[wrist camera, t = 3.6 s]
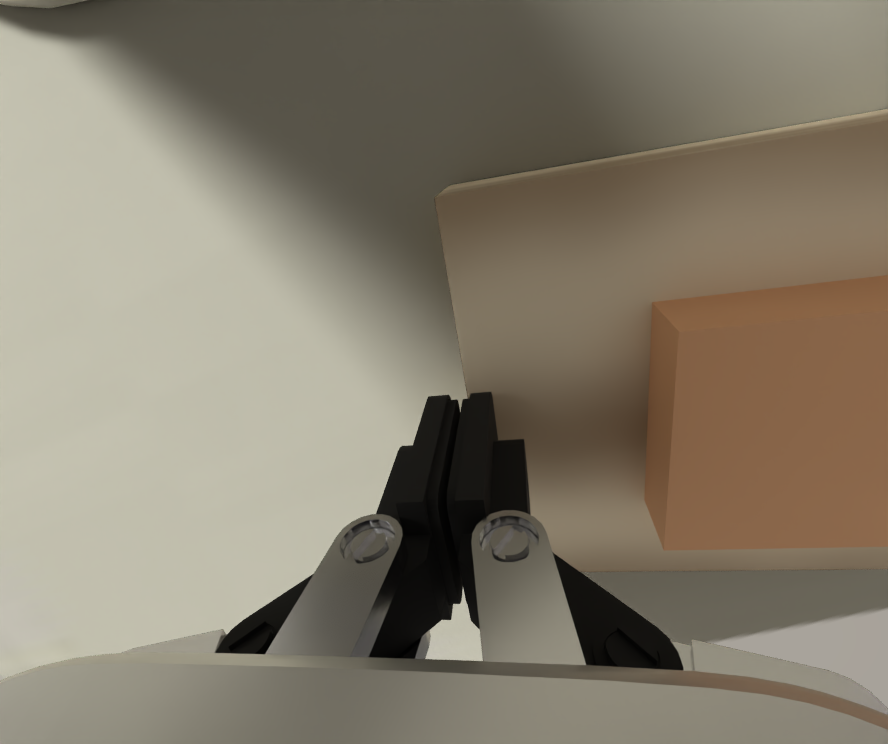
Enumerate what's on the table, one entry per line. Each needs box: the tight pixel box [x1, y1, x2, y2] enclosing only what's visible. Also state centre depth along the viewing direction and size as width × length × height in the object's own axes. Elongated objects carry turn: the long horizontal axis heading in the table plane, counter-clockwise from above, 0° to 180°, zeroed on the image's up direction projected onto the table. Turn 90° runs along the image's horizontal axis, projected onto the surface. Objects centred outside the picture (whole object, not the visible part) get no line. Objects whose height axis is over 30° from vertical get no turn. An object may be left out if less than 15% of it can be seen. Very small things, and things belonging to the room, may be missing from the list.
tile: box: [644, 275, 888, 551], centre depth 10 cm, size 6×9×2 cm, turn 100°
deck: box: [434, 109, 888, 572], centre depth 12 cm, size 12×14×3 cm
